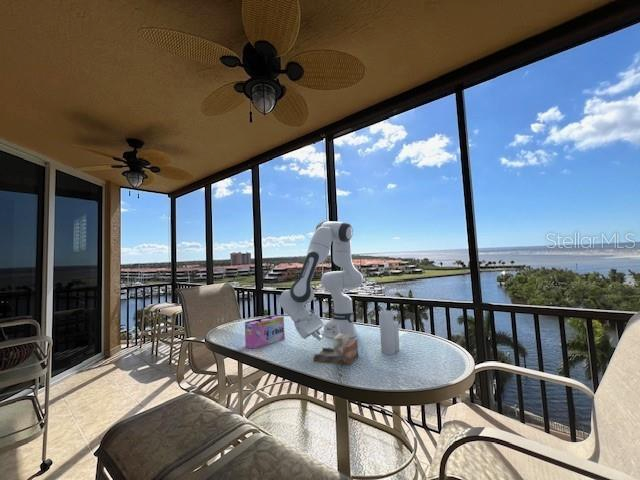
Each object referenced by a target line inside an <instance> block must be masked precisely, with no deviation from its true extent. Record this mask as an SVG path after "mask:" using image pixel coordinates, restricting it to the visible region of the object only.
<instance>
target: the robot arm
mask: <svg viewBox="0 0 640 480" xmlns="http://www.w3.org/2000/svg"><path fill="white" fill-rule="evenodd" d="M353 232H354V229H353V227H352V225H351V224H350V223H348V222H342V221H341V222H340V221H335V220H334V221H330V220H329V221H327V220H324V221H323V220H322V221H320V222H318V223H317V225H316V227H315V231H314V234H313V235H312V237H311V241H310V243H309V245H308V250H307V253H306V256H305V260H304V262H303V265H302V268H301V270H300V272H299V276H298V277H297V279H296V280H295V281H294V283H292V285H291V287H290V289H284V290H283V291H282V292H281V294H280V295H279V297H278V303H279V306H280V307H281V308H282V309H283V311H284V313H286V314H287V315H288V316H289V317H290V319H291V320H292V322H294V323H293V324H294V327H295V330H296V332H297V333H298V334H299V336H300V337H301V338H302V339H304V340H305V339H307V338H308V337H310V336H311V337H313V338H315V339H317V341H321V340H322V339H324V337H325V338H330V339H333V340H334V337H335V336H337V335H338V334H339V333H341V334H349V339H354V338H355V337H357V333H356V330H355V325H354V318H355V317H354V311H353V299H352V298H351V296H349V295H348V294H345V293H343V291H342V290H349V289H351V290H353V289H356V288H360V287H362V285H363V283H364V275H363V274H362V273H361V272H360V271H359V270H358V269H356V267H355V266H354V263H353V260H352V241H351V239H352V237H353V235H354V233H353ZM331 246H332V262H333V264H334V265H335V266H338V267H339V268H342V270H336V271H335V270H333V271H327V272H324V273H323V274H322V275H321V278H320V284H321V286H322V288H324V289H325V290H326V291H327V292H329V294H330V295H331V298H332V301H333V310H334V311H333V312H331V313H330V316H331V318H330V319H329V320H328V321H327V322H325V324H324V322H323V321H322V319H321V318H320V317H319V316H318V315H317V314H316V312H315V311H314V310H313V309H308V308H307V307H306V305H307V304H309V303H310V302H312V301H313V299H314V298H315V290H314V289H313V287H312V286H311V282H312V279H313V277H314V274H315V271H316V269H317V267H318V266H319V265H320V264H322V263H324V262H325V261H326V260H327V257H328V255H329V254H330V250H331ZM322 328H323V331H320V330H321V329H322Z"/></svg>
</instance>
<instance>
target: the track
mask: <svg viewBox="0 0 640 480" xmlns="http://www.w3.org/2000/svg"><path fill="white" fill-rule="evenodd" d="M358 345H359V344H358V338H349V341H348V342H347V343H346V344H345V345H344V346H343V357H338V356H334V348H329V347H322V350H321V351H320V352H319V353H315V354H314V357H313V362H316V363H317V362H318V363H324V364H334V365H343V366H344V365H345V366H352V365H353V363H354V362H355V360H357V358H358V357H359V346H358Z"/></svg>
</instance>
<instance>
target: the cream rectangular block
mask: <svg viewBox="0 0 640 480" xmlns="http://www.w3.org/2000/svg"><path fill="white" fill-rule="evenodd" d="M349 340H350V338H349V334H341V333H339V334H338V335H337V336H335V337H334V339H333V349H334V356H338V357H343V346H344V345H345V344H346V343H347V342H348V341H349Z"/></svg>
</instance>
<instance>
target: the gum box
mask: <svg viewBox="0 0 640 480" xmlns="http://www.w3.org/2000/svg"><path fill="white" fill-rule="evenodd" d="M284 321H285V319H284V316H279V315H278V314H275V315H270V316H266V317H262V318H258V319H253V320H249V321H245V322H244V340H245V347H247V348H250V349H257V348H260V347H263V346H267V345H271V344H274V343H276V342H280V341H282V340H285V339H286V335H285V322H284Z"/></svg>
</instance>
